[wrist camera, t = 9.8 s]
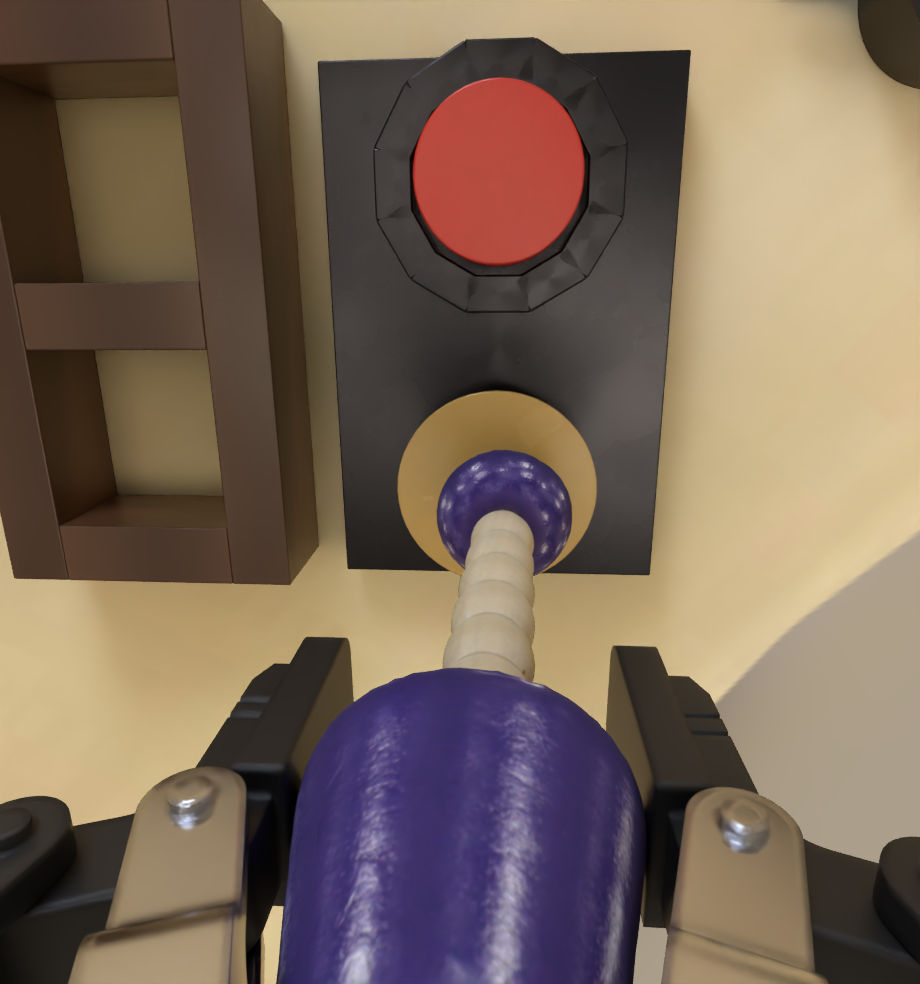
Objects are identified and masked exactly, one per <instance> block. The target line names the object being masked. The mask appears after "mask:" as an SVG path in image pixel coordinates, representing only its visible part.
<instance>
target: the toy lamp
mask: <svg viewBox="0 0 920 984" xmlns="http://www.w3.org/2000/svg"><path fill="white" fill-rule="evenodd" d="M437 526H438V530H439V533H440V536H441V539H442V542H443V544H444V546H445V548H446V549H447V551H448V552H449V554H450V555H451V557H452V558H453V559H454V560H455V561H456V562H457V563H458V564H459V565H460V566H461V567H462V568H463V569H465V571H464V572H463V575H462V577H461V580H460V584H459V600H458V601H457V603H456V605H455V608H454V611H453V615H452V619H451V631H452V635H451V636H450V638H449V640H448V642H447V645H446V648H445V651H444V657H443V669H440V670H435V671H428V672H420V673H412V674H410V675H408V676H406V677H403V678H398V679H394V680H392V681H391V682H389V683H387V684H385V685H382V686H380V687H377V688H375V689H372V690H371V691H369V692H368V693H366V694H365V695H364V696H362V697H361V698H359V699H358V700H357V701H355V702H353V703H351V704H350V705H349V706H348V707H346V708H345V709H344V710H343V711H342V712H341V713H340V714H339V715H338V716H337V717H336V718H335V719H334V720H333V721H332V722H331V723H330V724H329V726H328V728H327V729H326V731H325V732H324V734H323V735H322V737H321V738H320V740H319V741H318V743H317V745H316V747H315V749H314V750H313V752H312V755H311V757H310V759H309V762H308V764H307V766H306V769H305V772H304V775H303V778H302V782H301V786H300V790H299V794H298V798H297V804H296V809H295V815H294V823H293V831H292V839H291V848H290V857H289V870H288V878H287V886H286V894H285V901H284V909H283V920H282V931H281V941H280V954H279V965H278V974H277V982H276V984H633V976H634V965H635V954H636V945H637V939H638V930H639V922H640V914H641V906H642V896H643V886H644V876H645V868H646V861H647V833H646V818H645V813H644V807H643V802H642V797H641V794H640V791H639V787H638V785H637V782H636V780H635V777H634V774H633V772H632V769H631V767H630V765H629V763H628V762H627V760H626V758H625V757H624V756H623V754H622V753H621V751H620V750H619V748H618V747H617V745H616V743H615V742H614V740H613V739H612V737H611V736H610V735H609V734H608V733H607V732H606V731H605V730H604V729H603V728H602V727H601V726H600V724H599V723H598V722H597V721H596V720H595V719H593V718H592V717H591V716H590V715H589V714H587V713H586V712H585V711H584V710H583V709H582V708H580V707H579V706H578V705H576V704H575V703H574V702H572V701H571V700H570V699H568V698H567V697H565V696H563V695H561V694H559V693H557V692H555V691H553V690H552V689H550V688H548V687H547V686H545V685H541V684H537V683H533V678H534V671H535V661H534V655H533V651H532V647H531V645H532V642H533V638H534V631H535V621H534V616H533V611H532V607H533V602H534V584H533V580H532V577H533V576H535V575H536V574H538V573H540V572H541V571H543V570H545V569H546V568H547V567H548V566H549V565H550V564H552V563H553V562H554V561H555V560H556V559H557V557H558V556H559V555H560V554H561V552H562V550H563V549H564V547H565V545H566V543H567V540H568V538H569V535H570V532H571V527H572V504H571V500H570V496H569V492H568V490H567V488H566V487H565V485H564V483H563V481H562V480H561V478H560V476H559V475H558V474H557V473H556V472H555V471H554V470H553V469H552V468H550V467H549V466H548V465H546V464H545V463H543V462H541V461H539V460H538V459H537V458H535V457H533V456H531V455H528V454H526V453H522V452H517V451H511V450H493V451H490V452H485V453H482V454H478V455H476V456H475V457H473V458H470V459H469V460H467V461H465V462H464V463H463V464H461V465H460V466H459V467H457V468H456V469H455V470H454V471H453V472H452V474H451V475H450V476H449V477H448V479H447V481H446V482H445V484H444V486H443V488H442V490H441V493H440V496H439V500H438V506H437Z"/></svg>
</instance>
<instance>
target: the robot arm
mask: <svg viewBox="0 0 920 984" xmlns="http://www.w3.org/2000/svg"><path fill="white" fill-rule="evenodd" d="M353 702H354V701H353V684H352V668H351V651H350V644H349V641H348V639H347V638H334V637H306V638H305V639H304V640H303V642H302V643H301V645H300V647H299V649H298V650H297V652H296V654H295V656H294V657H293V659H292V661H291V663H290V664H273V665H272V666H270V667H269V668H268V669H266V670H265V671H263V672H262V673H261V674H259V675H258V676H257V677H255V678H254V679H253V680H252V681H251V683H250V684H249V686H248V687H247V689H246V690H245V692H244V693H243V695H242V697H241V700H240V702H238V703H237V704H236V706H235V707H234V709H233V710H232V712H231V715H230V718H227V720H226V721H225V723H224V724H223V726H222V727H221V729H220V731H219V732H218V734H217V735H216V737H215V738H214V740H213V741H212V743H211V744H210V746H209V748H208V749H207V751H206V752H205V754H204V755H203V757H202V758H201V760H200V762H199V763H198V765H197V766H196V768H193V769H188V770H185V771H182V772H179V773H177V774H174V775H172V776H170V777H168V778H166V779H164V780H163V781H161V782H160V783H158V784H157V785H155V786H154V787H153V788H152V789H151V790H149V791H148V792H147V793H146V795H145V796H144V797H143V798H142V800H141V801H140V803H139V804H138V807H137V809H136V812H135V813H134V814H131V815H126V816H122V817H118V818H113V819H107V820H102V821H97V822H92V823H87V824H82V825H77V826H73V825H72V820H71V816H70V811H69V808H68V807H67V805H66V804H65V803H64V802H62V801H61V800H59V799H56V798H53V797H48V796H32V797H25V798H20V799H16V800H12V801H9V802H6V803H3V804H0V984H264V963H265V946H264V937H263V930H264V927H265V924H266V922H267V919H268V916H269V914H270V911H271V908H272V906H284V901H285V894H286V886H287V878H288V870H289V857H290V848H291V839H292V831H293V823H294V815H295V809H296V804H297V798H298V794H299V790H300V786H301V782H302V778H303V775H304V772H305V769H306V766H307V764H308V762H309V759H310V757H311V755H312V752H313V750H314V749H315V747H316V745H317V743H318V741H319V740H320V738H321V737H322V735H323V734H324V732H325V731H326V729H327V728H328V726H329V724H330V723H331V722H332V721H333V720H334V719H335V718H336V717H337V716H338V715H339V714H340V713H341V712H342V711H343V710H344V709H345V708H346V707H348V706H349V705H350V704H351V703H353ZM606 732H607V733H608V734H609V735H610V736H611V737H612V739H613V740H614V742H615V743H616V745H617V747H618V748H619V750H620V751H621V753H622V754H623V756H624V757H625V758H626V760H627V762H628V763H629V765H630V767H631V769H632V772H633V774H634V777H635V780H636V782H637V785H638V787H639V791H640V794H641V797H642V802H643V807H644V813H645V818H646V833H647V861H646V868H645V876H644V886H643V896H642V906H641V917H642V922H643V927H656V928H666V930H667V934H668V937H667V945H666V952H665V960H664V967H663V975H662V982H661V984H920V837H903V838H899V839H895V840H893V841H891V842H889V843H888V844H887V845H886V846H885V847H884V848H883V850H882V852H881V855H880V860H879V864H878V863H875V862H871V861H868V860H864V859H861V858H857V857H853V856H850V855H846V854H842V853H839V852H836V851H832V850H829V849H826V848H823V847H820V846H818V845H815V844H813V843H811V842H808V841H807V840H805V839H803V835H802V832H801V830H800V828H799V826H798V825H797V823H796V822H795V821H794V819H793V818H792V817H791V816H790V815H789V814H788V813H787V812H786V811H785V810H783V809H782V808H781V807H780V806H778V805H777V804H775V803H774V802H772V801H770V800H769V799H767V798H765V797H763V796H760V795H759V794H758V792H757V790H756V788H755V786H754V784H753V782H752V780H751V778H750V776H749V773H748V772H747V770H746V767H745V765H744V763H743V762H742V759H741V757H740V755H739V753H738V751H737V750H736V747H735V745H734V743H733V741H732V739H731V737H730V736H728V731H727V729H726V727H725V725H724V723H723V721H722V719H720V714H719V712H718V710H717V708H716V706H715V704H714V702H713V700H712V698H711V696H710V694H709V693H707V692H706V691H705V690H704V689H703V688H702V687H700V686H699V685H698V684H697V683H696V682H694V681H693V680H692V679H691V678H690V677H687V676H668V674H667V671H666V669H665V666H664V664H663V661H662V659H661V657H660V654H659V652H658V649H657V648H656V647H644V646H613V647H612V650H611V657H610V672H609V688H608V703H607V719H606Z"/></svg>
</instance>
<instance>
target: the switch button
mask: <svg viewBox="0 0 920 984" xmlns="http://www.w3.org/2000/svg"><path fill="white" fill-rule="evenodd" d="M584 175H585V161H584V154H583V147H582V144H581V140H580V136H579V134H578V132H577V129H576V127H575V125H574V123H573V121H572V119H571V118H570V116H569V114H568V113H567V112H566V110H565V109H564V108H563V107H562V105H561V104H560V103H559V102H558V101H557V100H556V99H555V98H554V97H552V96H551V95H550V94H548V93H547V92H546V91H544V90H543V89H541V88H539V87H537V86H535V85H533V84H531V83H528V82H525V81H523V80H518V79H513V78H489V79H484V80H480V81H476V82H474V83H471V84H469V85H466V86H464V87H462V88H461V89H459V90H457V91H456V92H454V93H453V94H452V95H450V96H449V97H448V98H446V99H445V100H444V101H443V102H442V103H441V104H440V105H439V106H438V107H437V108H436V110H435V111H434V112H433V114H432V115H431V116H430V118H429V119H428V121H427V123H426V125H425V126H424V128H423V130H422V133H421V135H420V138H419V140H418V143H417V147H416V150H415V156H414V162H413V185H414V192H415V197H416V201H417V204H418V207H419V210H420V212H421V214H422V216H423V219H424V221H425V222H426V224H427V226H428V227H429V229H430V230H431V232H432V233H433V234H434V235H435V236H436V238H437V239H438V240H439V241H440V242H441V243H442V244H443V245H445V246H446V247H447V248H448V249H450V250H451V251H452V252H454V253H455V254H457V255H459V256H460V257H462V258H464V259H466V260H468V261H471V262H473V263H476V264H480V265H485V266H492V267H503V266H511V265H515V264H519V263H522V262H525V261H528V260H529V259H531V258H533V257H535V256H537V255H538V254H540V253H541V252H543V251H544V250H546V249H547V248H548V247H549V246H550V245H551V244H552V243H553V242H554V241H555V240H556V239H557V238H558V237H559V236H560V235H561V233H562V232H563V231H564V230H565V229H566V227H567V225H568V224H569V222H570V221H571V219H572V217H573V215H574V213H575V211H576V209H577V207H578V204H579V201H580V198H581V194H582V190H583V185H584Z"/></svg>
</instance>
